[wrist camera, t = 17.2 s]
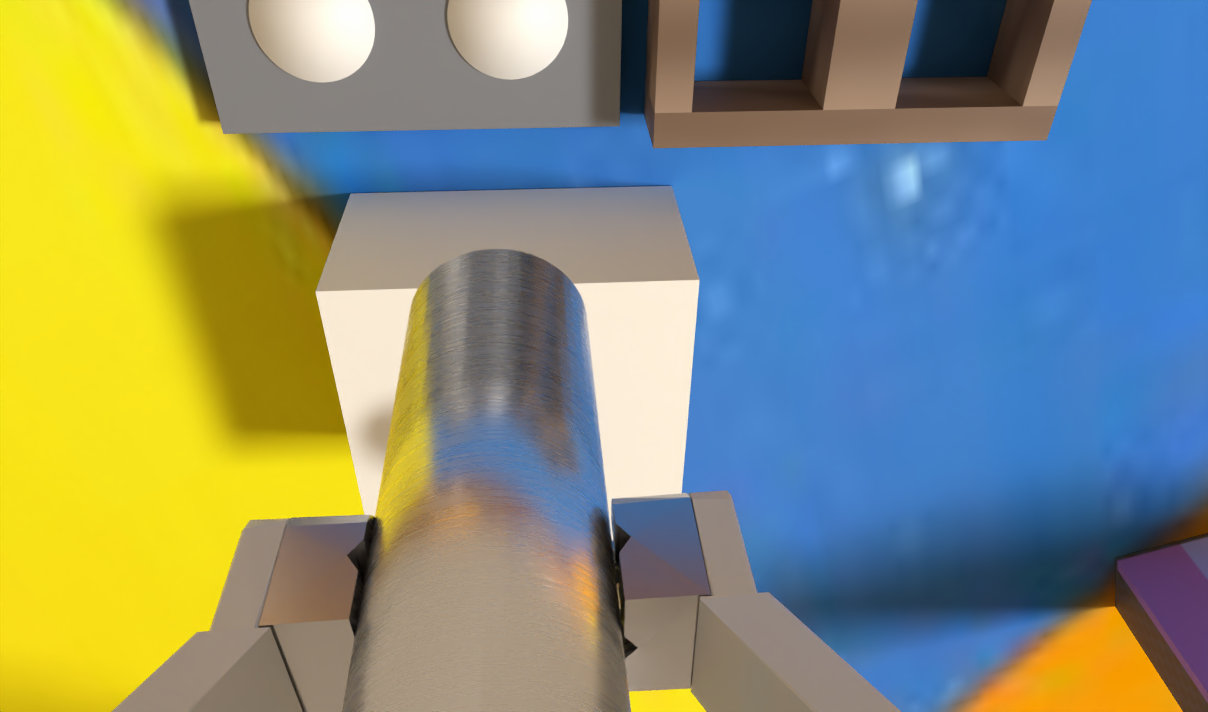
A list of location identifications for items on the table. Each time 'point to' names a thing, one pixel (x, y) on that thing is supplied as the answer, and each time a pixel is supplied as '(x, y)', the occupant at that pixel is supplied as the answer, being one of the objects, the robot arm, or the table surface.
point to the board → (411, 64)
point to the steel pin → (492, 507)
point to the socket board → (862, 81)
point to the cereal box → (1170, 613)
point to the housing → (569, 242)
